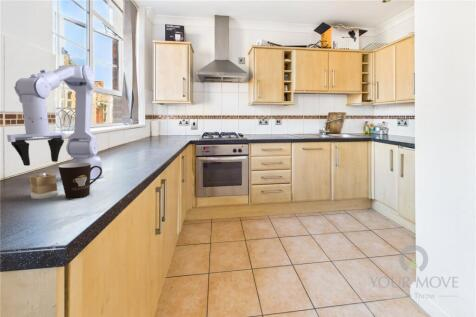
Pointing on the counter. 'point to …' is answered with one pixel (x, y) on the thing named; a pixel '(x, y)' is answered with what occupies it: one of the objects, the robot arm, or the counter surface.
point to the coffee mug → (77, 179)
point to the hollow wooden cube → (43, 183)
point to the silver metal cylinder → (42, 174)
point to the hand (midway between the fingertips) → (41, 163)
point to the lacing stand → (44, 195)
